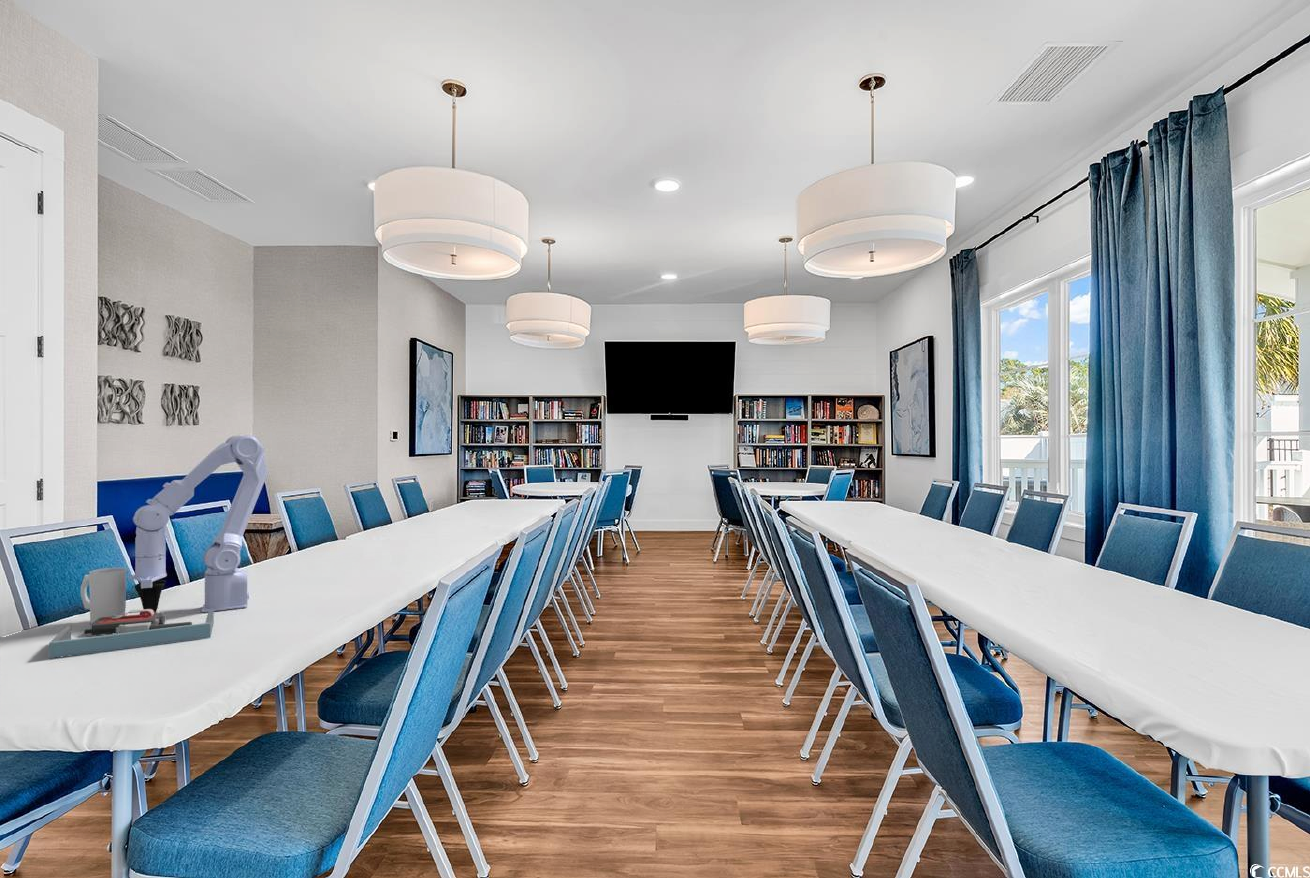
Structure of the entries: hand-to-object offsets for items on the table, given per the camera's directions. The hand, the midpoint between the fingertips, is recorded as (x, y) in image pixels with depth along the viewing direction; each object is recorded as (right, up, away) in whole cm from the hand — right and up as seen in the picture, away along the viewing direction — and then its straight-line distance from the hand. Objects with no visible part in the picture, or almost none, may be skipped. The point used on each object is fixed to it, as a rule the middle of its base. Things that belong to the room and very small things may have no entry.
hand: (150, 612), depth 155 cm
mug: (-10, -2, -2) cm, 10 cm away
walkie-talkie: (+5, -2, -8) cm, 10 cm away
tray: (+10, -1, -16) cm, 19 cm away
